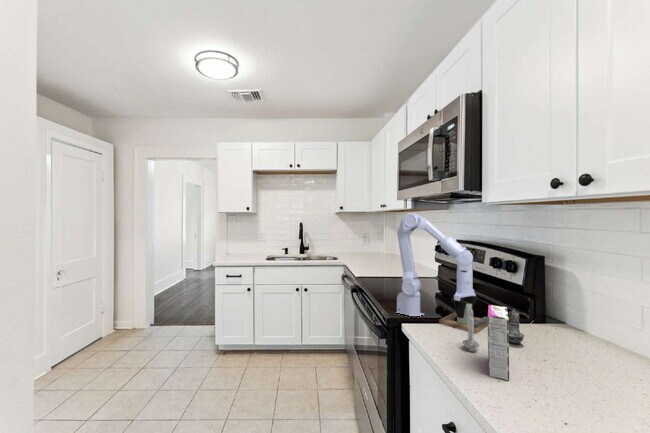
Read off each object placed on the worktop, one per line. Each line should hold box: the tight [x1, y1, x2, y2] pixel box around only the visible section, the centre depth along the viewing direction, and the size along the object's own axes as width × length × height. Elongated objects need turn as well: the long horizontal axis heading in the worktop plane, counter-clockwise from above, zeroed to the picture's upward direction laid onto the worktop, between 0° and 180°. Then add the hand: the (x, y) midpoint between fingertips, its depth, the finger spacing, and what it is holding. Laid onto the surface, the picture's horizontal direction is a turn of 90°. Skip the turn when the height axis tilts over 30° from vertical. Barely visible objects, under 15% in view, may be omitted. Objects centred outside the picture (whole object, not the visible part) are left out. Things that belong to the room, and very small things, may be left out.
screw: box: [461, 310, 480, 353], centre depth 94 cm, size 13×5×5 cm
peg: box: [456, 303, 472, 325], centre depth 117 cm, size 4×4×8 cm
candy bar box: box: [487, 304, 510, 381], centre depth 82 cm, size 11×5×16 cm, turn 151°
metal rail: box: [474, 316, 488, 329], centre depth 113 cm, size 1×12×2 cm, turn 132°
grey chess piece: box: [508, 308, 525, 349], centre depth 99 cm, size 6×6×12 cm
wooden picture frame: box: [438, 311, 488, 335], centre depth 117 cm, size 14×14×2 cm
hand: (464, 315), depth 117 cm, fingers open, 7 cm apart
